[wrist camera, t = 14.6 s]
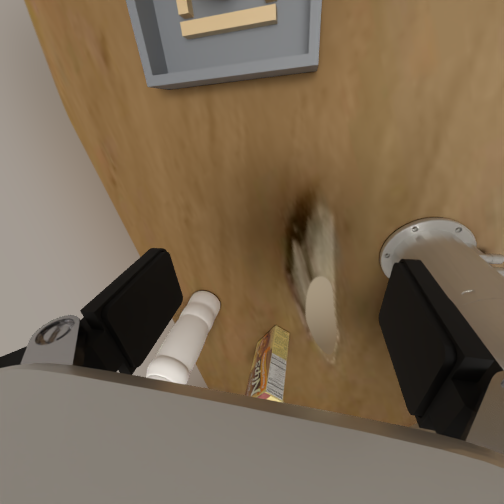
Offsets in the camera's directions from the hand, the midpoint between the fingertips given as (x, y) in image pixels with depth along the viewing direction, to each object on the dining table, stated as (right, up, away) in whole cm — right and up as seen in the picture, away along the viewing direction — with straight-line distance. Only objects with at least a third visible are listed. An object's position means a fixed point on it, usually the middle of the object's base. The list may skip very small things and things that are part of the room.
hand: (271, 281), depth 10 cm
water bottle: (-11, -10, +43) cm, 46 cm away
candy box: (+4, -19, +45) cm, 49 cm away
